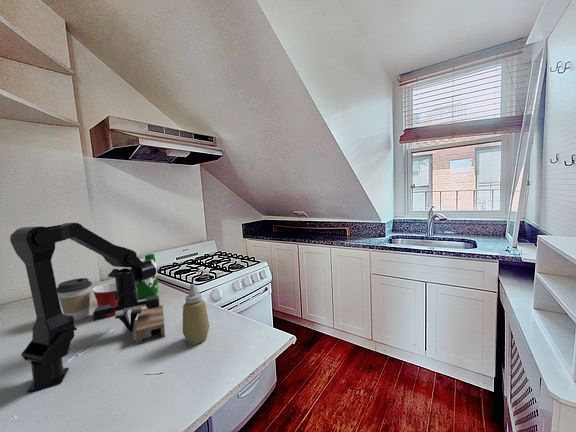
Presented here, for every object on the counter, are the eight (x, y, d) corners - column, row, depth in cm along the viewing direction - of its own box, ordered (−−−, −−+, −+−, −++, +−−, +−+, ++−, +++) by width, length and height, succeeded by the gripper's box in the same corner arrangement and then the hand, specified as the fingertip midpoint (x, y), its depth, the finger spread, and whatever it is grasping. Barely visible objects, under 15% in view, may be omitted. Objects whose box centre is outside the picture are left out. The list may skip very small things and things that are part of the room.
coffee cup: (100, 314, 105) (96, 279, 104) (64, 327, 96) (60, 288, 95) (89, 309, 111) (85, 276, 110) (55, 320, 102) (50, 284, 101)
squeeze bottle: (181, 349, 76) (176, 290, 75) (185, 336, 84) (180, 282, 83) (210, 344, 78) (205, 286, 77) (210, 331, 86) (206, 278, 85)
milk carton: (156, 297, 122) (153, 255, 121) (135, 300, 119) (131, 258, 118) (160, 291, 130) (156, 252, 129) (140, 294, 127) (136, 254, 126)
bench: (165, 336, 84) (163, 323, 84) (137, 344, 80) (135, 330, 80) (163, 316, 100) (162, 304, 100) (140, 321, 96) (139, 310, 96)
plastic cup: (110, 321, 98) (107, 291, 97) (87, 320, 100) (84, 290, 100) (133, 309, 109) (130, 281, 108) (112, 308, 111) (109, 281, 110)
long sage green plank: (151, 337, 85) (150, 329, 85) (133, 342, 83) (133, 334, 82) (150, 323, 95) (150, 316, 95) (135, 327, 93) (134, 320, 93)
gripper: (157, 275, 98) (160, 315, 99) (97, 285, 89) (102, 329, 90) (157, 283, 88) (161, 327, 89) (90, 295, 79) (95, 344, 80)
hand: (130, 331), depth 87 cm, fingers closed
